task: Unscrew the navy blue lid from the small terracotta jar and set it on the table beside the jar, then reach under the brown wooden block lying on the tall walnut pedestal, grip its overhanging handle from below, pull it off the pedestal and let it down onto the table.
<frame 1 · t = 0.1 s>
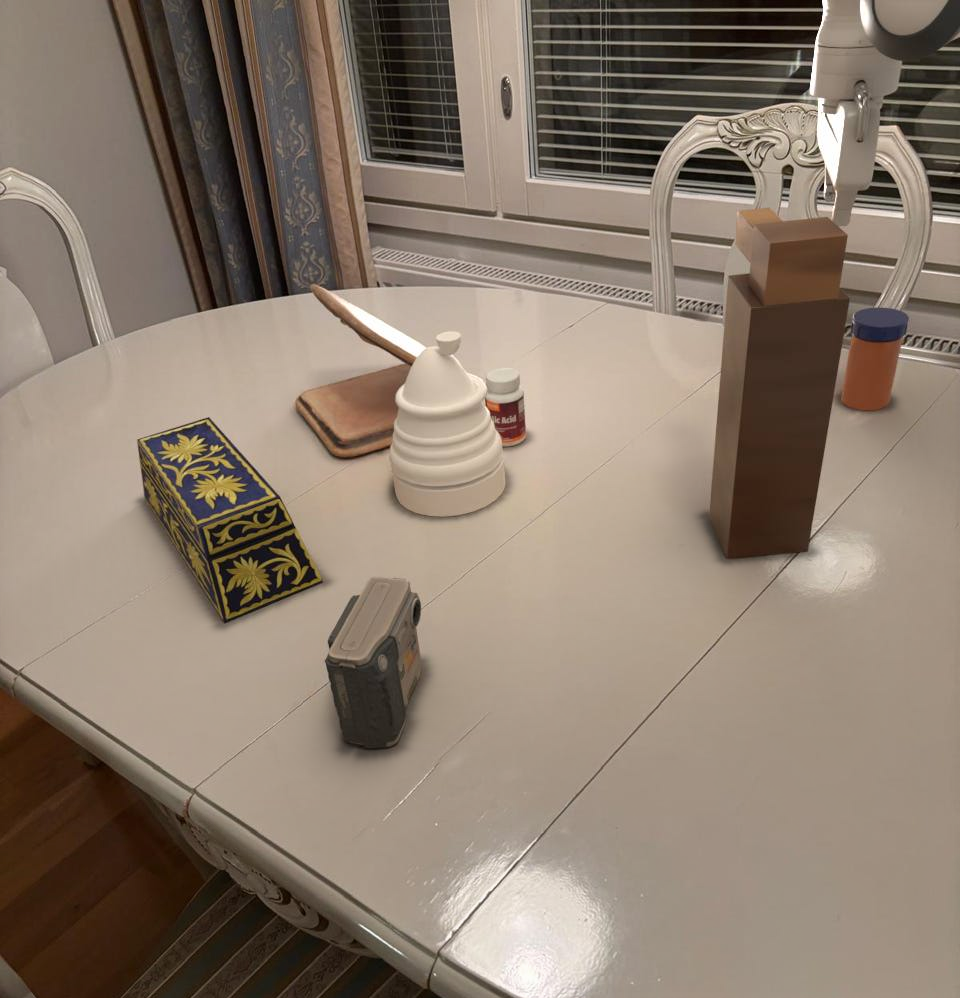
hand: (835, 211, 106), 20 cm above the table, tool pointing down, fingers open, 8 cm apart
decorative box: (227, 538, 102), on the table
honey pot: (450, 488, 106), on the table
case: (387, 413, 123), on the table
pill bottle: (507, 439, 114), on the table
pedestal: (756, 533, 93), on the table
camera: (386, 705, 79), on the table
lid: (880, 320, 107), point 10 cm above the table, screwed on, not yet turned
jar: (864, 400, 113), on the table
brown wooden block: (773, 270, 80), point 25 cm above the table, touching pedestal
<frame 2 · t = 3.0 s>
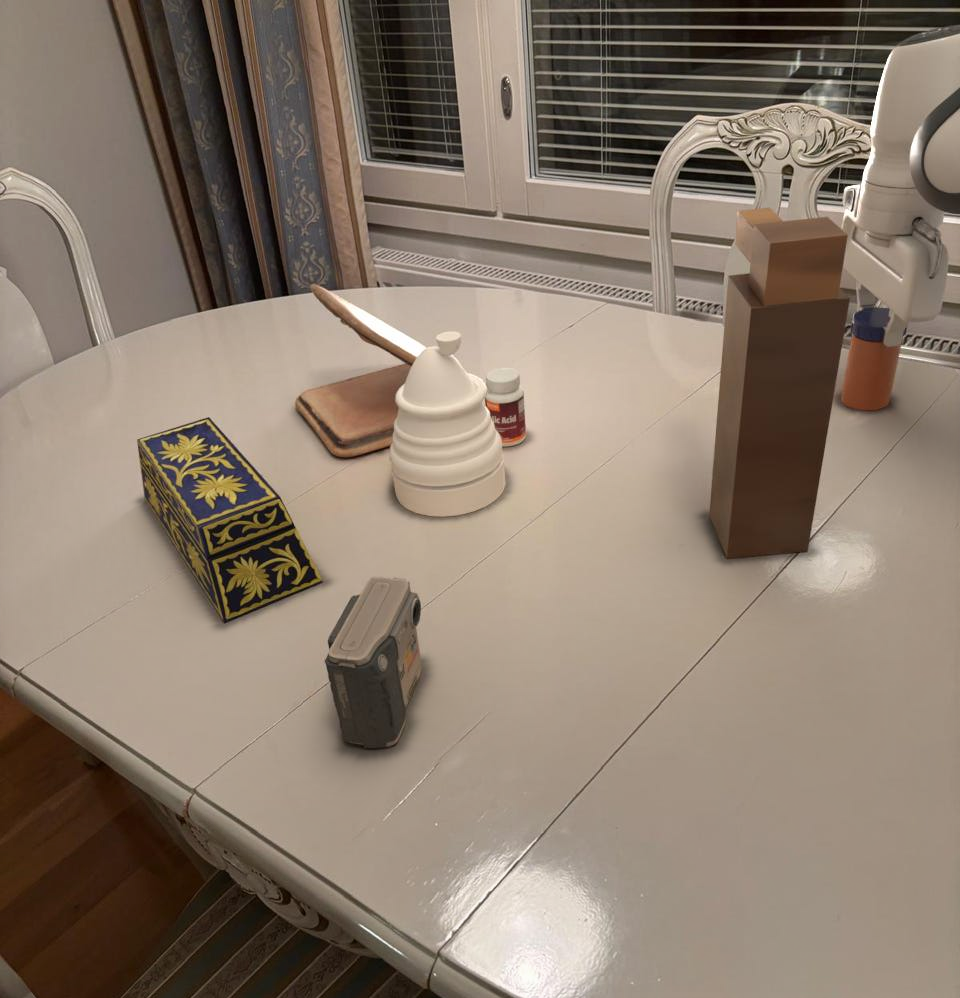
hand: (877, 331, 107), 9 cm above the table, tool pointing down, fingers closed on lid, 6 cm apart
lid: (880, 320, 107), point 10 cm above the table, screwed on, not yet turned, touching gripper
everything else where it was.
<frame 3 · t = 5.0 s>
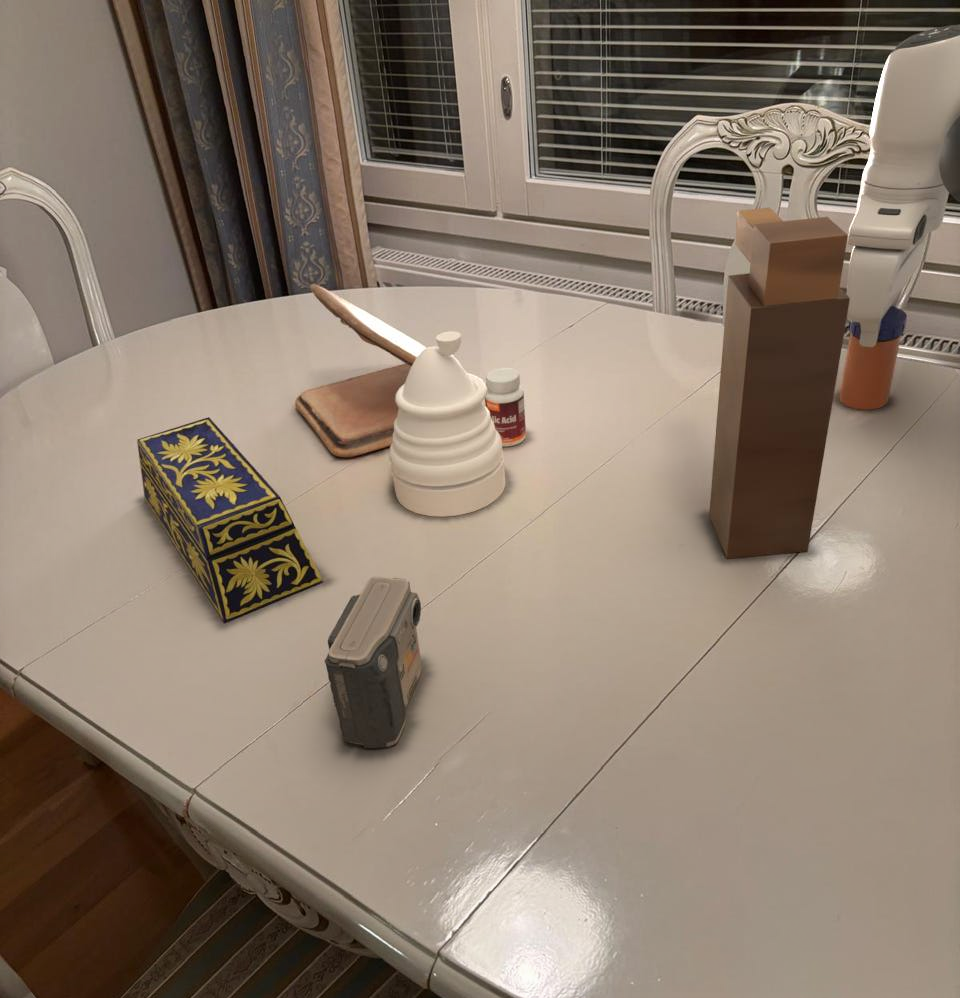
hand: (876, 332, 107), 9 cm above the table, tool pointing down, fingers closed on lid, 6 cm apart
lid: (878, 319, 106), point 10 cm above the table, off its thread, touching gripper
everything else where it was.
when the fingers open (0 cm above the table, at t = 13.0 s): lid stays where it is, point 1 cm above the table.
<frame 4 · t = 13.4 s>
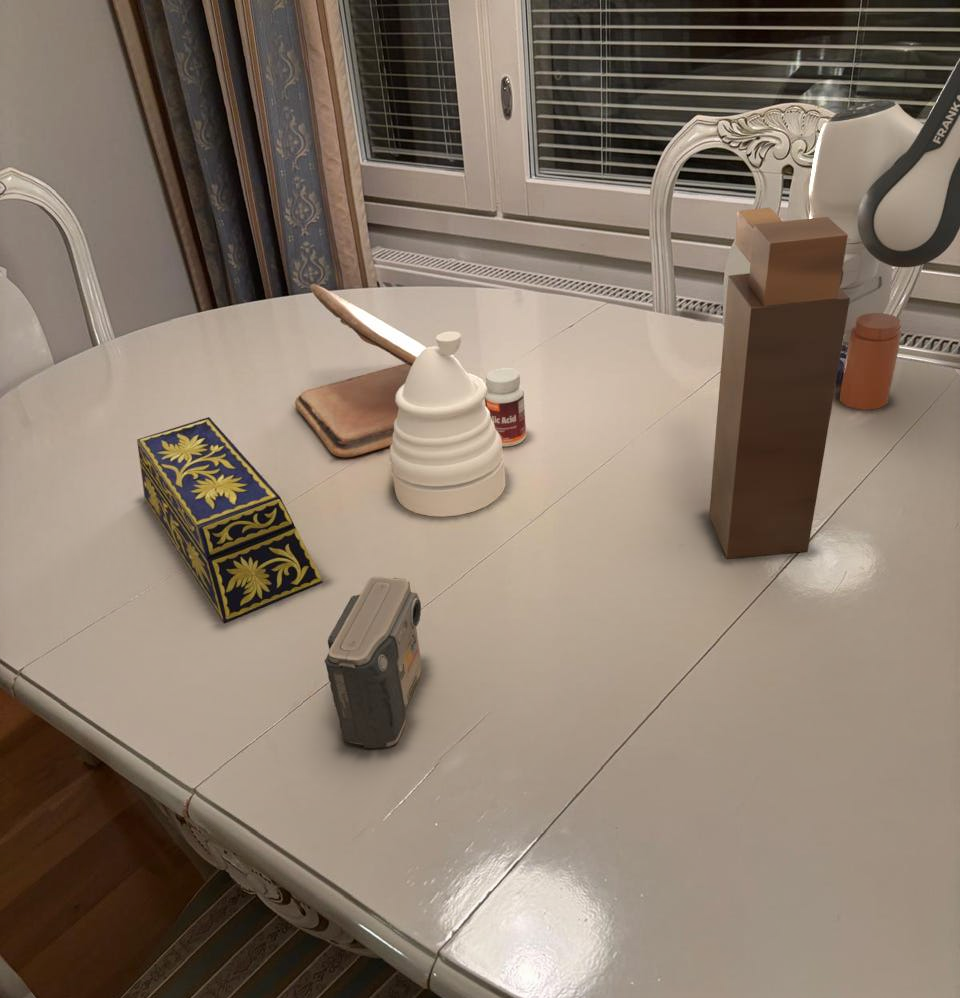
hand: (823, 368, 118), 1 cm above the table, tool pointing down, fingers open, 8 cm apart
lid: (819, 366, 118), point 1 cm above the table, off its thread
everything else where it was.
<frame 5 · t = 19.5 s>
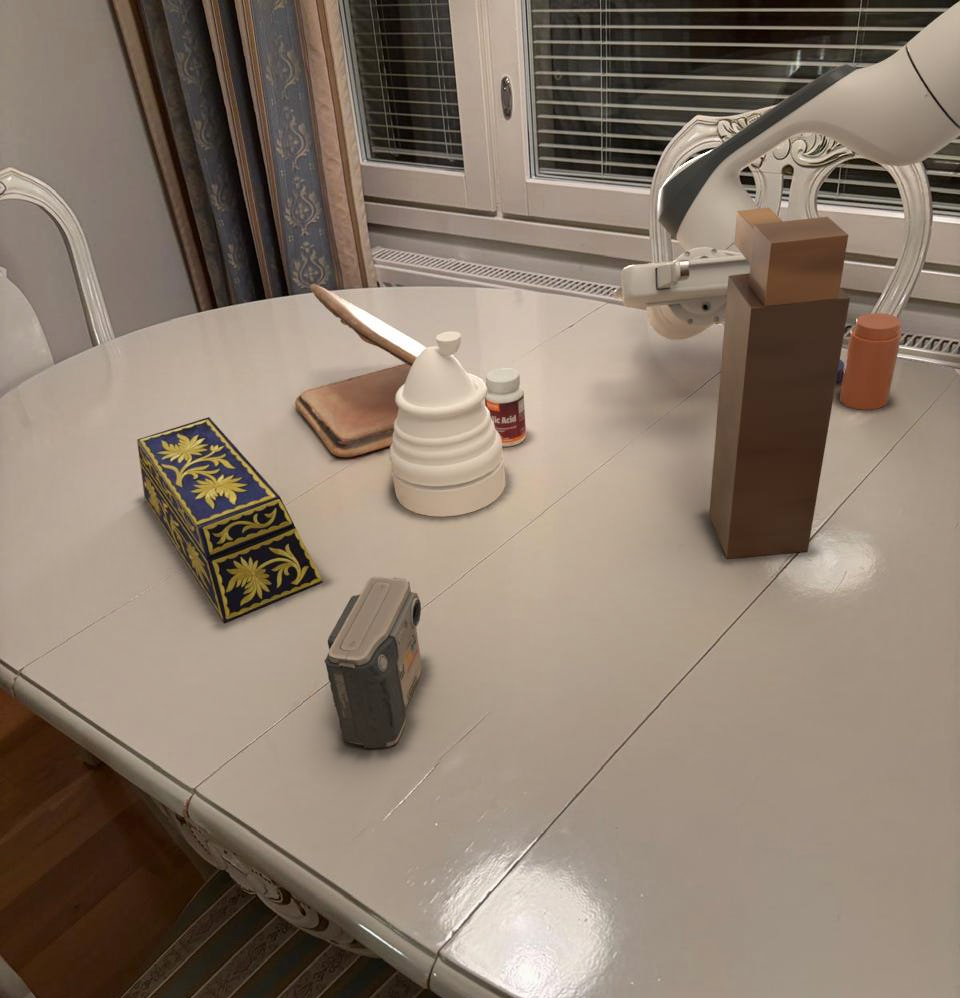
hand: (728, 264, 95), 21 cm above the table, tool pointing upward, fingers open, 8 cm apart
nothing on the table moved.
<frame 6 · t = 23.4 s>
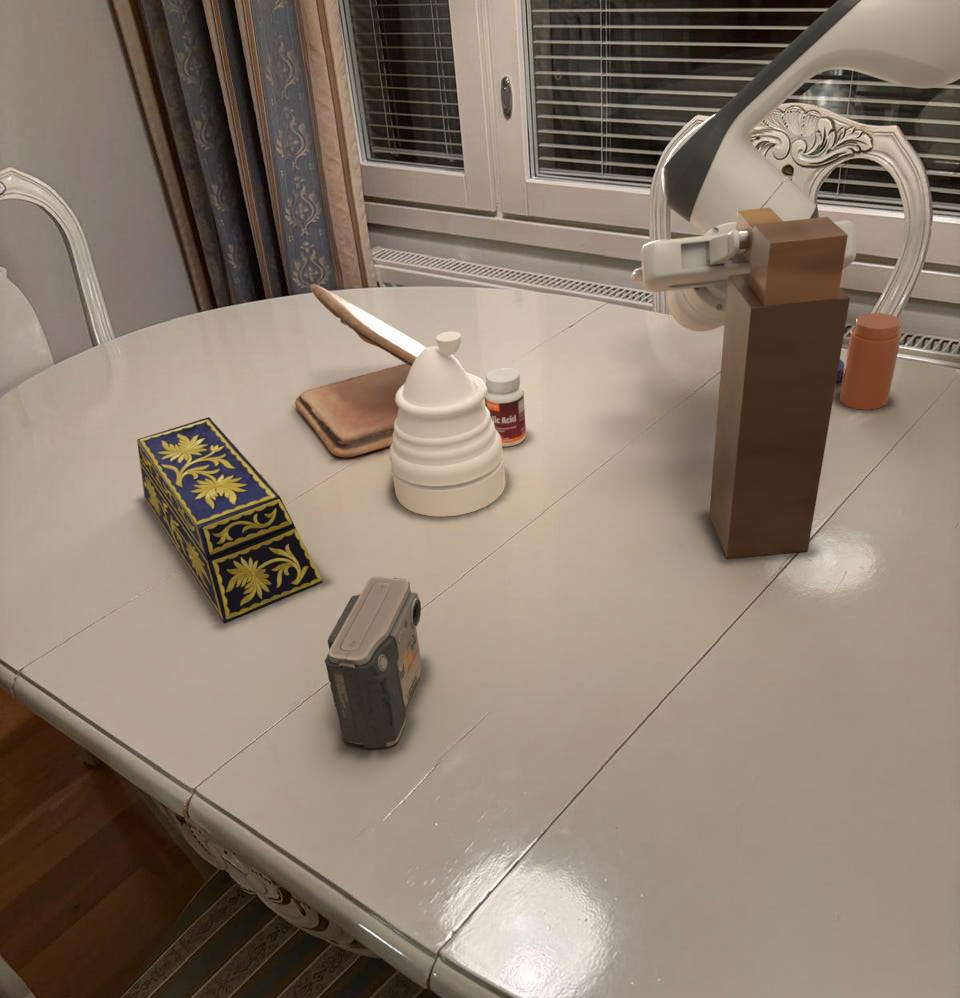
hand: (766, 236, 82), 27 cm above the table, tool pointing upward, fingers closed on brown wooden block, 3 cm apart
brown wooden block: (773, 270, 80), point 25 cm above the table, touching gripper, pedestal
everything else where it was.
when the fingers open (17 cm above the table, at t = 30.6 s): brown wooden block drops 15 cm, on the table.
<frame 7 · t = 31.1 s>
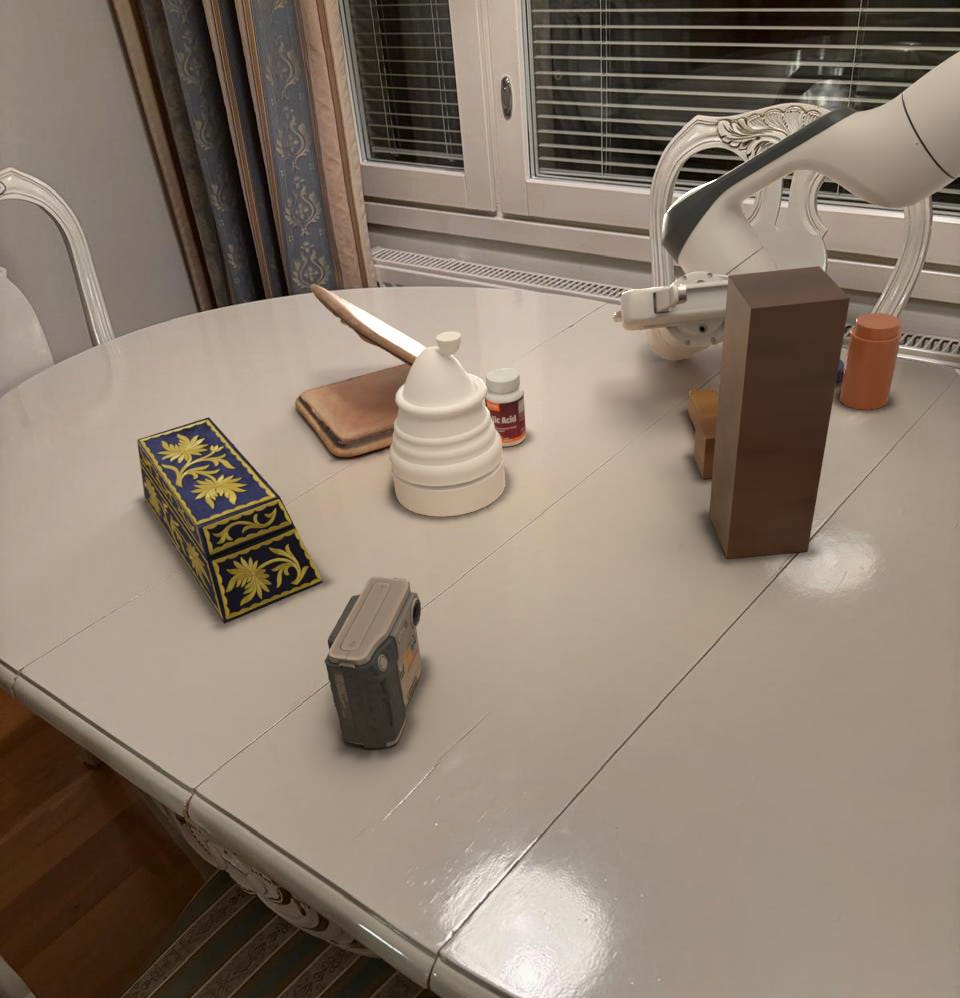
hand: (722, 288, 98), 18 cm above the table, tool pointing upward, fingers open, 8 cm apart
brown wooden block: (714, 442, 108), on the table
everything else where it was.
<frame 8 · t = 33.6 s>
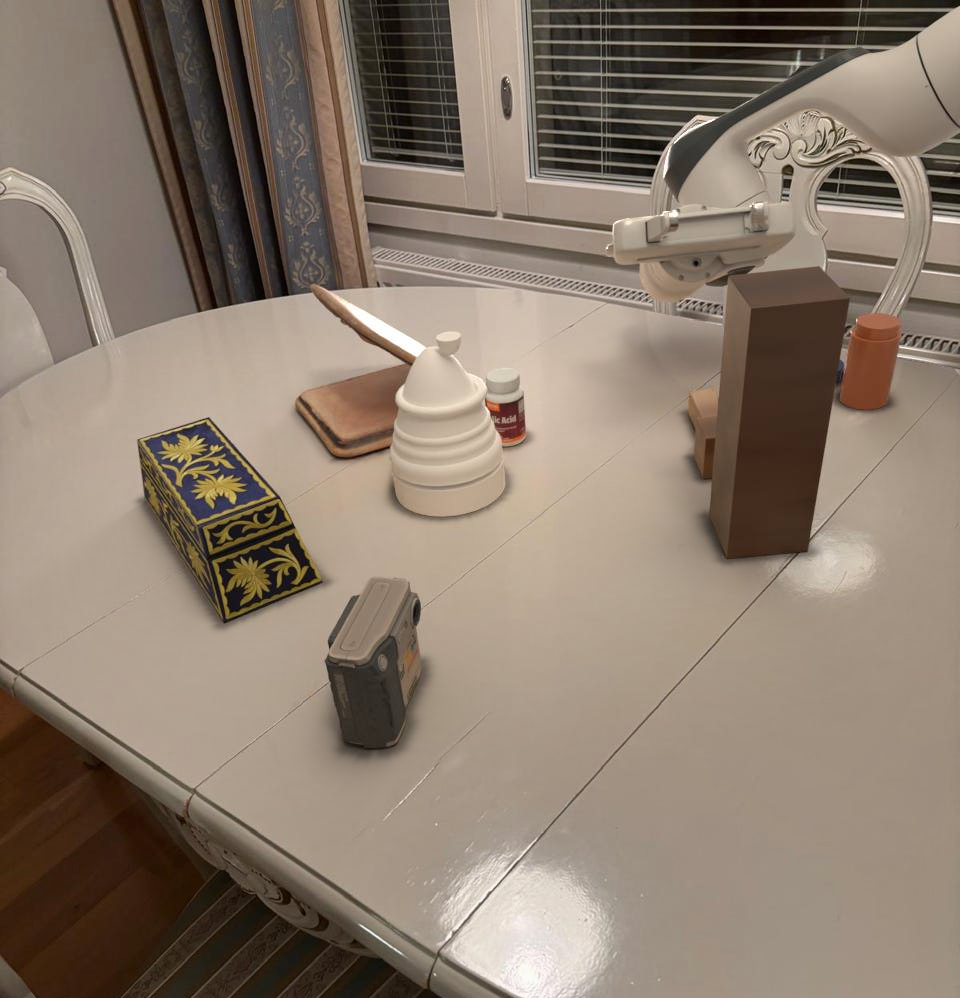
hand: (716, 214, 96), 24 cm above the table, tool pointing upward, fingers open, 8 cm apart
nothing on the table moved.
at the end: lid point 1.3 cm above the table; the gripper is holding nothing; brown wooden block on the table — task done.
